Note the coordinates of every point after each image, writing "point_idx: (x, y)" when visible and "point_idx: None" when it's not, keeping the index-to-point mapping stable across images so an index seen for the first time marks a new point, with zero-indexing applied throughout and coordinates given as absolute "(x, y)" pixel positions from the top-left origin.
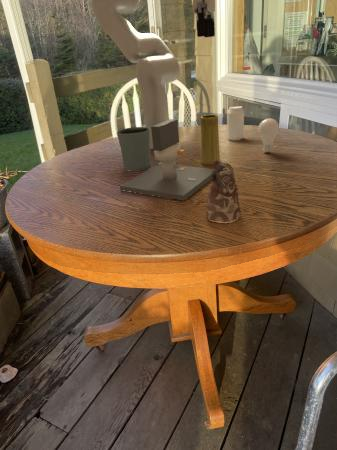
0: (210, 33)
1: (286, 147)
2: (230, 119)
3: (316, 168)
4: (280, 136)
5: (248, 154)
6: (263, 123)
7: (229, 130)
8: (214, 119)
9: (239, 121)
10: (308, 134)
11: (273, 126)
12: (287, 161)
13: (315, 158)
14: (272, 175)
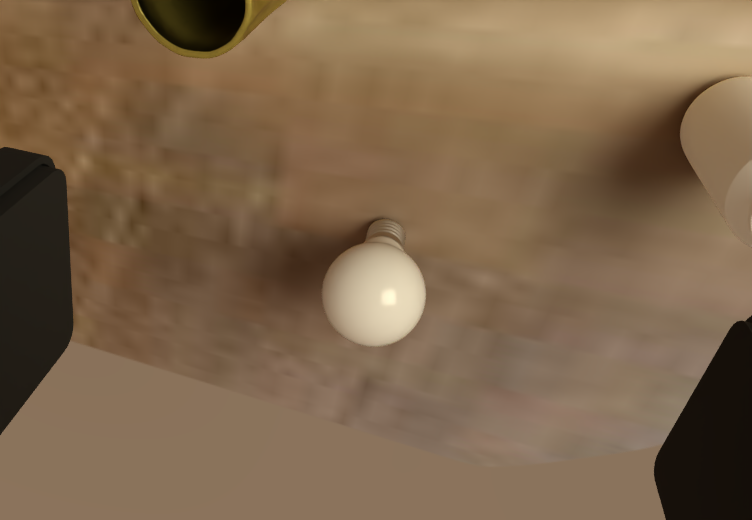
0: (695, 454)
1: (454, 317)
2: (740, 140)
3: (167, 333)
4: (669, 342)
5: (379, 149)
6: (343, 286)
7: (725, 105)
8: (155, 28)
9: (709, 191)
10: (646, 443)
11: (326, 316)
12: (251, 274)
13: (279, 362)
14: (87, 191)
